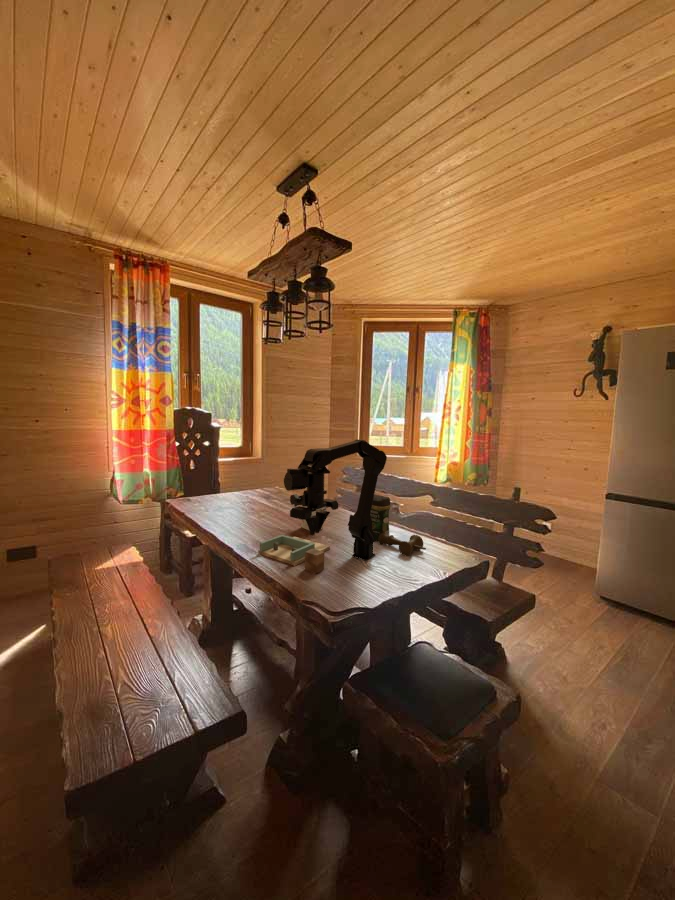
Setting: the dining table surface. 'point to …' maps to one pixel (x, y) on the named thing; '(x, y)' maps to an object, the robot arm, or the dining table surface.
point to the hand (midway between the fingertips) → (314, 533)
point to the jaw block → (314, 560)
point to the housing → (289, 541)
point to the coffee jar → (380, 515)
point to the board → (289, 552)
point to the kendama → (402, 543)
